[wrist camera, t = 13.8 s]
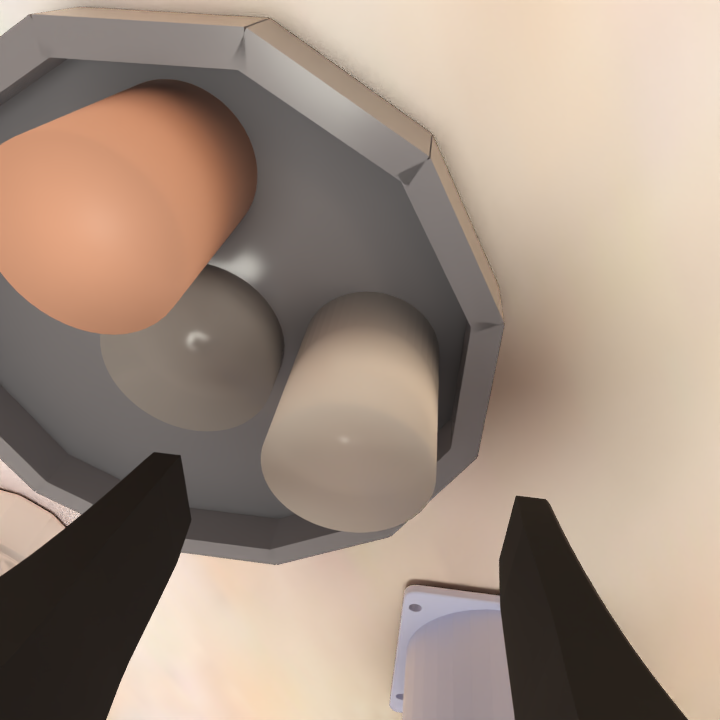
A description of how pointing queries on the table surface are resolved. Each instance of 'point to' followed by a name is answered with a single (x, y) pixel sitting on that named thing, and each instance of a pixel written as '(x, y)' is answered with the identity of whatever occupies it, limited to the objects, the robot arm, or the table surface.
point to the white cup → (23, 529)
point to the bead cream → (358, 417)
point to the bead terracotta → (122, 204)
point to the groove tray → (239, 276)
